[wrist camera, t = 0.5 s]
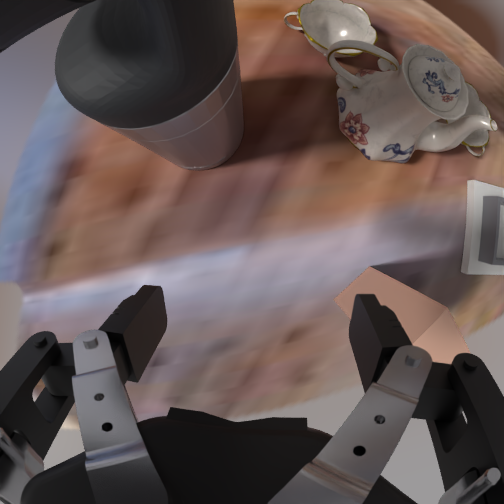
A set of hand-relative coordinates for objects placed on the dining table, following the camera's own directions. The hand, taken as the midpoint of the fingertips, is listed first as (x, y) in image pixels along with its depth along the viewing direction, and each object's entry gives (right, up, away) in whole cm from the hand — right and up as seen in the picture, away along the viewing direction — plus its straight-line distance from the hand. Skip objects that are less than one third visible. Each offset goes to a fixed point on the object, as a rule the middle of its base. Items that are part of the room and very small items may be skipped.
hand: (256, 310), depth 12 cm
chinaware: (+15, +20, +17) cm, 30 cm away
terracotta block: (+13, -3, +20) cm, 24 cm away
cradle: (+33, +5, +19) cm, 39 cm away
